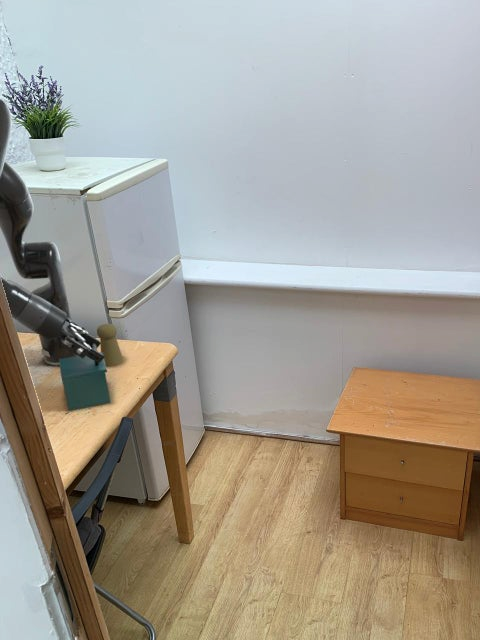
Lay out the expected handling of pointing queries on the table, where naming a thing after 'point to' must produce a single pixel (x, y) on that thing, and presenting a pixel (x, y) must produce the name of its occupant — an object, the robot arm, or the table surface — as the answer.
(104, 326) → the olive pepper mill
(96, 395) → the teal square box
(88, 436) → the table surface
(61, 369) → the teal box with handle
